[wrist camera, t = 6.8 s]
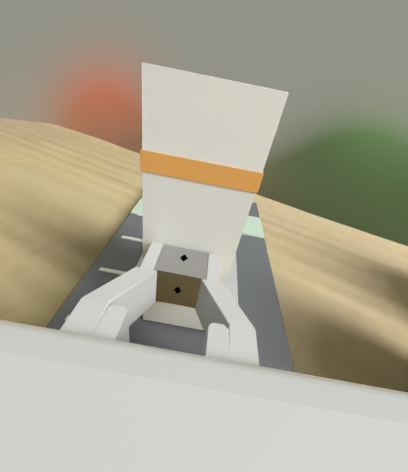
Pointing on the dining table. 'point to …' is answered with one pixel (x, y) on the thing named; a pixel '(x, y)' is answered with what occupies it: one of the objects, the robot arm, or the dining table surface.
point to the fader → (201, 165)
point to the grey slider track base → (238, 284)
